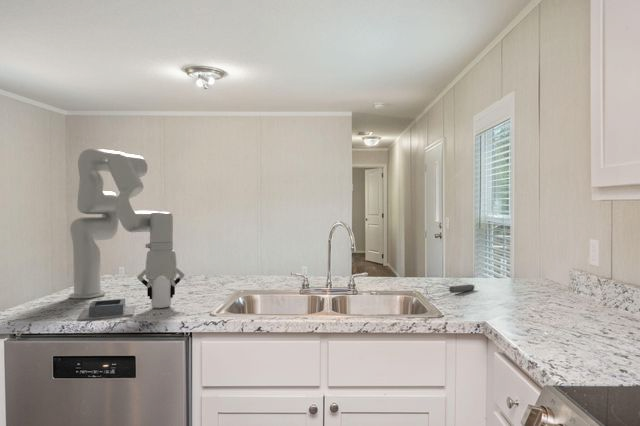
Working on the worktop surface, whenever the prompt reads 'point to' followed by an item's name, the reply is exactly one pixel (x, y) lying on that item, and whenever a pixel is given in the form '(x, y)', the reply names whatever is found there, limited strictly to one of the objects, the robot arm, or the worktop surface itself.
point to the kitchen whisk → (454, 289)
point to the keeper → (107, 310)
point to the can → (161, 292)
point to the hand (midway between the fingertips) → (161, 297)
